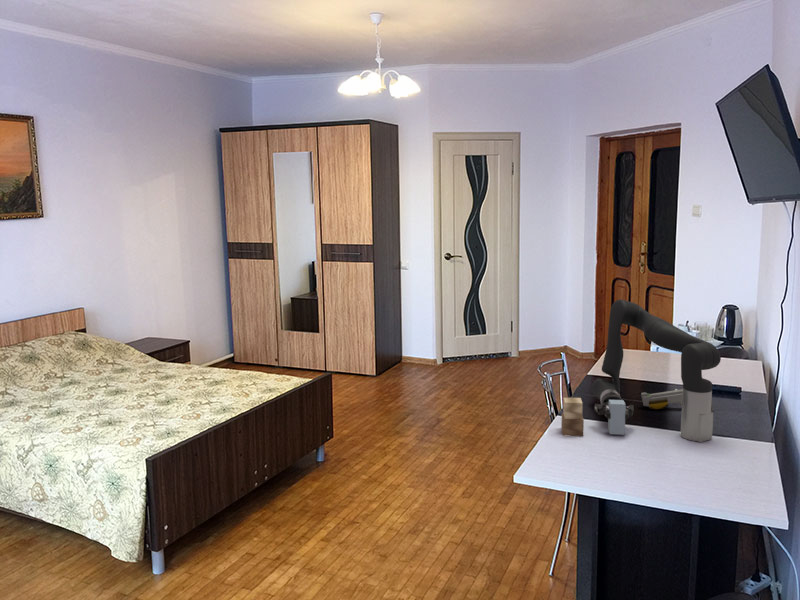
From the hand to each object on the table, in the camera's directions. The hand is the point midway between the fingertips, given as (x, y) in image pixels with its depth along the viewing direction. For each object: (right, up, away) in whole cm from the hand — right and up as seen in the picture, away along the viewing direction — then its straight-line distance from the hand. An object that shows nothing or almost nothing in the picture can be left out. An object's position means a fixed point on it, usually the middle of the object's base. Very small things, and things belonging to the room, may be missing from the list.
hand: (617, 416), depth 230 cm
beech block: (-14, -1, +5) cm, 15 cm away
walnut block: (-14, -7, +6) cm, 17 cm away
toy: (+32, -3, +28) cm, 43 cm away
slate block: (+1, -6, +4) cm, 7 cm away
